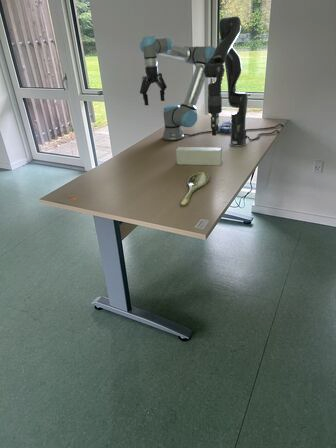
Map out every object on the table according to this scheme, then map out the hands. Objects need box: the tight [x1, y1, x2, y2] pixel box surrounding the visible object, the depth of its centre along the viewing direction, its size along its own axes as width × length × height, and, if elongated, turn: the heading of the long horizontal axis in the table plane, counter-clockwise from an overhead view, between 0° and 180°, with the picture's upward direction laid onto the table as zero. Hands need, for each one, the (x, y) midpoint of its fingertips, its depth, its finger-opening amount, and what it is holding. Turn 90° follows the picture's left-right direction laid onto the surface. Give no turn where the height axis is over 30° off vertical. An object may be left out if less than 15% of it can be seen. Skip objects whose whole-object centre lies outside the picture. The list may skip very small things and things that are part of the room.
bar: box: [175, 146, 223, 166], centre depth 199 cm, size 26×5×9 cm, turn 75°
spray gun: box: [218, 120, 231, 134], centre depth 254 cm, size 21×4×15 cm
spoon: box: [180, 171, 210, 207], centre depth 170 cm, size 35×11×2 cm, turn 159°
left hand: (154, 103), depth 210 cm, fingers open, 13 cm apart
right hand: (215, 133), depth 190 cm, fingers open, 8 cm apart
